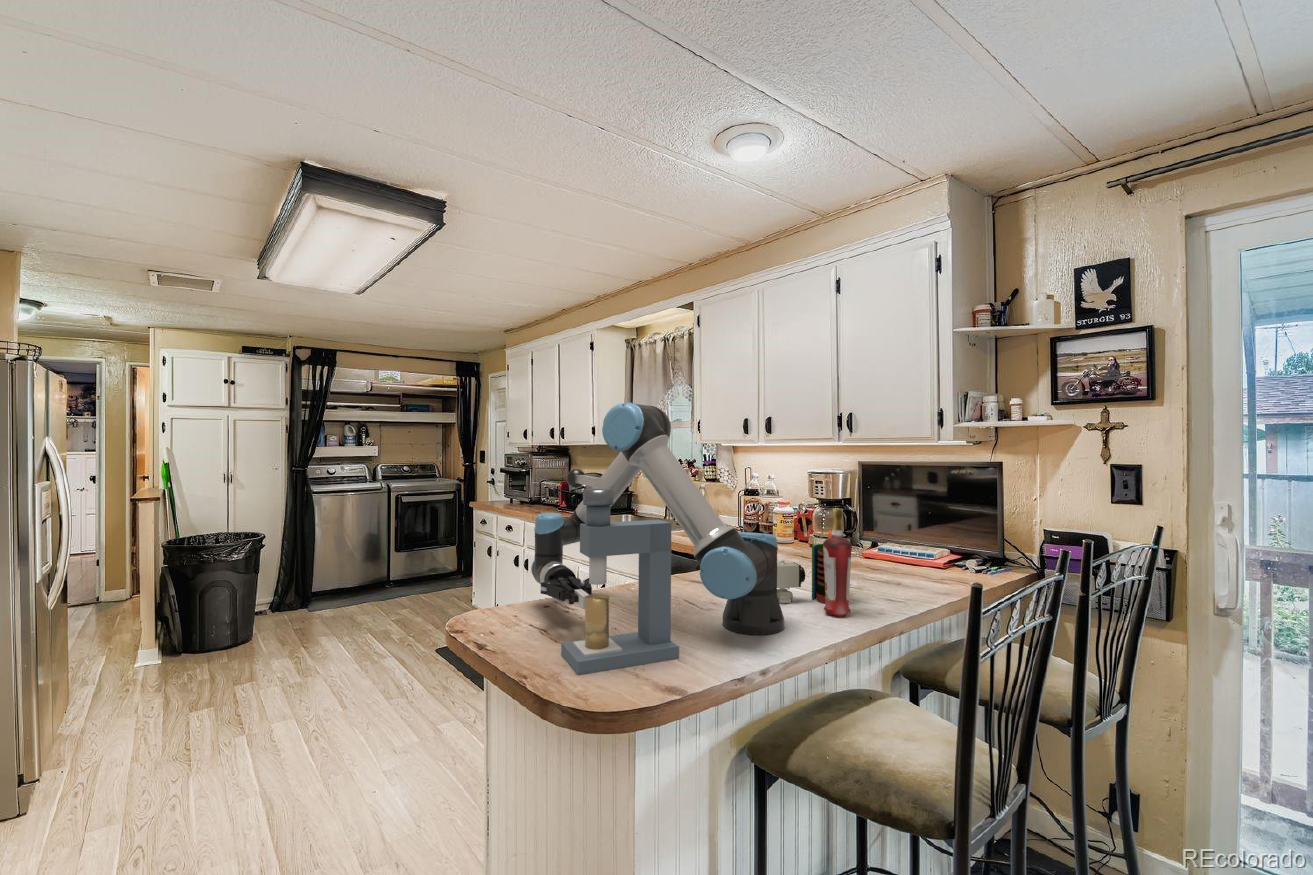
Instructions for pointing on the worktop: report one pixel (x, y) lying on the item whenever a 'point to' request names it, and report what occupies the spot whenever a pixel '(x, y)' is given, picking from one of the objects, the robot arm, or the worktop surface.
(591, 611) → the cylinder
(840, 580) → the liquor
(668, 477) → the robot arm
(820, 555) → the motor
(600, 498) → the lever
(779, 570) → the pneumatic valve
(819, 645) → the worktop surface
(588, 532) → the press frame
